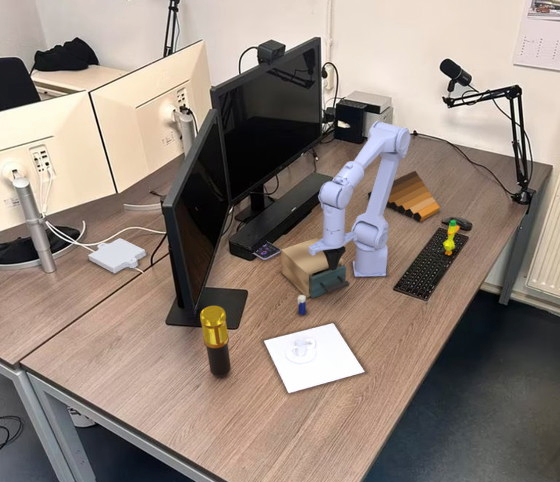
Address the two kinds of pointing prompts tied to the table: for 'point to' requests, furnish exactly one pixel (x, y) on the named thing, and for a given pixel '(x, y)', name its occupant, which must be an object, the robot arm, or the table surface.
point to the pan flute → (411, 197)
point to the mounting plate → (117, 255)
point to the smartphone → (267, 251)
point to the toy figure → (450, 237)
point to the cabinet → (303, 264)
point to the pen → (302, 304)
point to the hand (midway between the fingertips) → (332, 268)
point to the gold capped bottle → (216, 340)
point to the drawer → (327, 281)
